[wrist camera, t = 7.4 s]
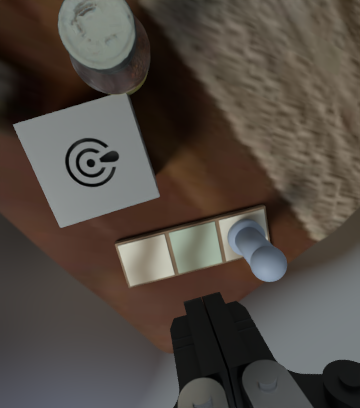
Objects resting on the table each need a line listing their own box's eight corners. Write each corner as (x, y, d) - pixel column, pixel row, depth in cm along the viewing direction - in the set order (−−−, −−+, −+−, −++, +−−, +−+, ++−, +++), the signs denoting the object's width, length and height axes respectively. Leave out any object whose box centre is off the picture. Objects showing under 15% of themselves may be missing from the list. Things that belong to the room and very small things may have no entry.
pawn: (259, 214, 40) (295, 246, 31) (264, 247, 42) (299, 286, 33) (224, 223, 40) (250, 258, 31) (230, 255, 42) (256, 297, 32)
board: (263, 204, 41) (265, 206, 40) (268, 248, 43) (271, 251, 42) (115, 241, 40) (114, 244, 39) (128, 284, 42) (128, 288, 41)
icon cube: (129, 96, 35) (125, 90, 25) (155, 175, 38) (159, 196, 29) (48, 121, 35) (12, 124, 25) (80, 199, 38) (60, 227, 28)
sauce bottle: (89, 37, 33) (19, -67, 14) (146, 38, 33) (153, -59, 14) (95, 100, 34) (40, 84, 16) (148, 100, 35) (157, 85, 16)
